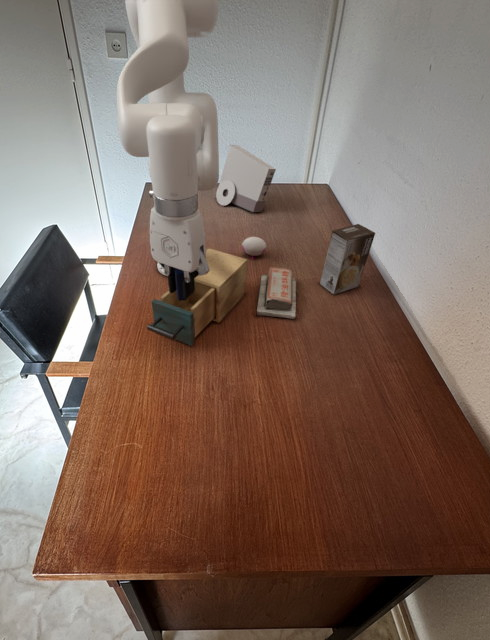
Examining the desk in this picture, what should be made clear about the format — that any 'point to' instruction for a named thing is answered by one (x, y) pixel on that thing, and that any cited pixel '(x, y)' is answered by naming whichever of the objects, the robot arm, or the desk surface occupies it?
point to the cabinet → (225, 280)
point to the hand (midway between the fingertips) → (181, 291)
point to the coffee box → (346, 258)
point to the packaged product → (277, 294)
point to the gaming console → (244, 180)
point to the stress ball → (254, 246)
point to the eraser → (179, 284)
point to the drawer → (184, 314)
